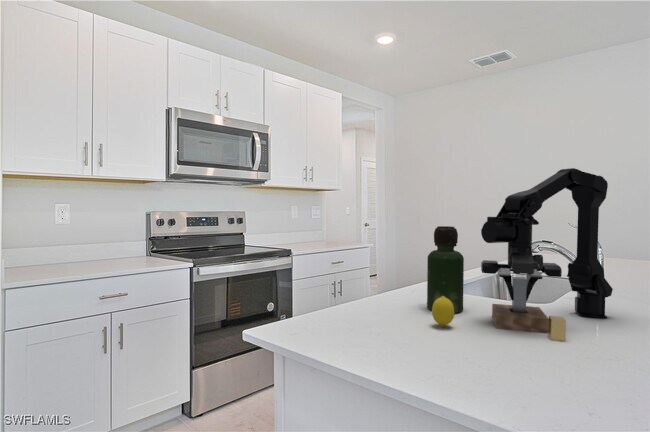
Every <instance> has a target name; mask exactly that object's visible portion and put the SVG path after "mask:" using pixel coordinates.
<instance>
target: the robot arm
mask: <svg viewBox="0 0 650 432" xmlns="http://www.w3.org/2000/svg"><path fill="white" fill-rule="evenodd" d="M608 186H609V185H608V181H607V180H606V179H605V177H604V176H602V175H596V174H594V173H590V172H589V173H588V172H585V171H582V170H580V169H577V168H576V167H575V168H574V167H571V168H562V169H560V170H558V171H556V173H555V174H553V175H551V176H549V177H548V178H546V179H544V180H542V181H541V182H540V183H538V184H536V185H534V186H533V187H531V188H529V189H527V190H522V191H519V192H516V193H515V192H514V193H512V194H510V195H508V196H506V198H505V199H504V200H505V201H504V203H503V205H502V206H501V208H500V209H499V212H498V213H497V215H496V216H486V217H487V218H486V219H487V221H485V222H484V223H483V224H482V228H481V230H480V233H481V237H482V239H483V241H484V242H485V243H487V244H500V243H501V244H504V243H505V244H507V263H499V262H498V261H497V260H487V259H486V260H485V259H483V260H482V261H481V262H480V263H481V264H480V265H481V266H480V267H481V268H480V270H481V273H482V274H497V275H498V277H499V278H503V281H504V283H505V286H506V288H507V291H508V294H509V297H510V300H511V301H512V300H513V288H512V277H513V276H512V275H511V274H510V273H511V272H512V273H513V274H515V275H520V274H526V277H525V279H526V302H528V301H529V300H528V299H529V297H530V295H531V292H532V290H533V288H534V286H535V284H536V283H537V282H538V280H543V276H542V274H543V273H544V274H545V275H546V276H547V277H552V278H554V277H555V278H561V277H562V273H563V272H562V267H561V266H560V265H559V264H557V263H556V262H555V263H554V262H544V256H543V254H533V225H534V226H538V225H539V224H540V222H539V221H538V220H537V219H535V217H534V215H535V214H537V213H538V211H540V210H541V208H542V206H543V203H544V202H545V201H547V200H548V199H550V198H552V197H553V196H555V195H556V194H558V193H559V192H561V191H563V190H565V189H566V190H568V191H571V197H572V200H573V202H574V203H575V205H576V206H577V230H576V231H577V236H576V258H575V259H574V260H573V262H569V263H568V264H567V275H566V277H568V283H569V285H570V287H571V292H576V296H575V297H574V312H575V313H577V314H578V315H579V316H580V317H585V318H597V319H608V316H607V315H606V298H609V297H611V296H612V293H613V291H614V290H613V289H614V288H613V287H612V286H611V284H610V283H609V282H608V281H607V279H606V278H605V270H604V267H603V265H602V264H601V262H600V260H599V258H598V255H599V254H598V251H599V250H598V249H599V248H598V246H599V216H600V215H599V214H600V212H599V211H600V207H601V205H602V204H603V202H604V201H605V200H606V199H607V192H608V188H609V187H608Z"/></svg>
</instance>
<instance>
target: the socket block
mask: <svg viewBox="0 0 650 432" xmlns="http://www.w3.org/2000/svg"><path fill="white" fill-rule="evenodd" d="M491 306H492V307H491V315H492V320H493V324H494V327H495V329H501V330H510V331H511V330H512V331H521V330H523V331H524V332H532V331H533V333H534V332H535V333H546V334H548V323H549V316H547V314H546V313H545V312H544V311H543V310H542V308H540V306H527V305H526V313H515V312H512V304H501V303H492V304H491ZM523 331H522V332H523Z"/></svg>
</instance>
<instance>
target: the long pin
mask: <svg viewBox="0 0 650 432" xmlns="http://www.w3.org/2000/svg"><path fill="white" fill-rule="evenodd" d="M512 288H513V300H511V305H512V312H515V313H526V306H527V301H526V277H520V276H519V277H518V276H512Z"/></svg>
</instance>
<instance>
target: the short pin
mask: <svg viewBox="0 0 650 432" xmlns="http://www.w3.org/2000/svg"><path fill="white" fill-rule="evenodd" d="M548 319H549V323H548V333H547V335H548V338H549V340H550V341H555V340H557V342H566V340H567V339H566V336H567V335H566V331H567V330H566V329H567V328H566V327H567V320H566V318H565V317H563V316H560V315H559V316H557V315H548Z"/></svg>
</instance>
